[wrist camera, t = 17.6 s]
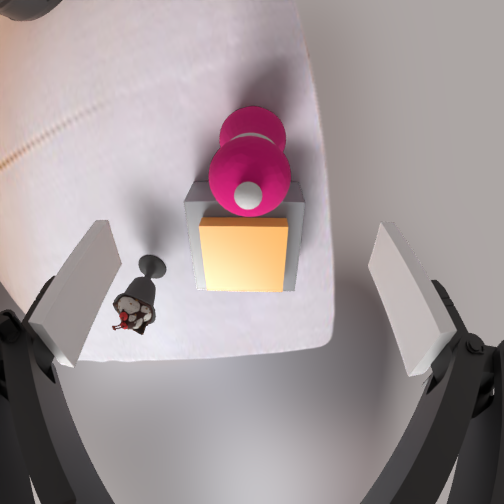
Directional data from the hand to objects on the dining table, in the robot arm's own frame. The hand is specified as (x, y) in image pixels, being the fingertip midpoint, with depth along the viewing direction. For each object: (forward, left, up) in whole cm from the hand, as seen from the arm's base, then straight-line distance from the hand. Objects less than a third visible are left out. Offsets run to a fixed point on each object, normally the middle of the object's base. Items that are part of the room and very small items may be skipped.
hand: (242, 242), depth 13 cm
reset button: (+14, -1, -24) cm, 28 cm away
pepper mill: (0, 0, -25) cm, 25 cm away
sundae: (+22, -17, -25) cm, 37 cm away
